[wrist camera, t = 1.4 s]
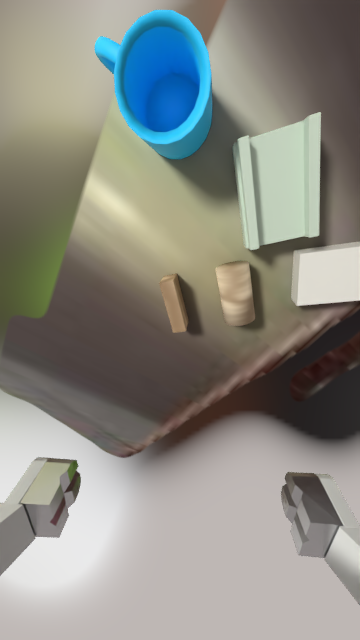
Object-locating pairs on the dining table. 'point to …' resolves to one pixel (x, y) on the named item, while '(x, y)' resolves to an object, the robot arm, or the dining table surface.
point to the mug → (162, 82)
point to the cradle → (279, 183)
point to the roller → (236, 292)
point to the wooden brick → (174, 302)
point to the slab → (326, 274)
